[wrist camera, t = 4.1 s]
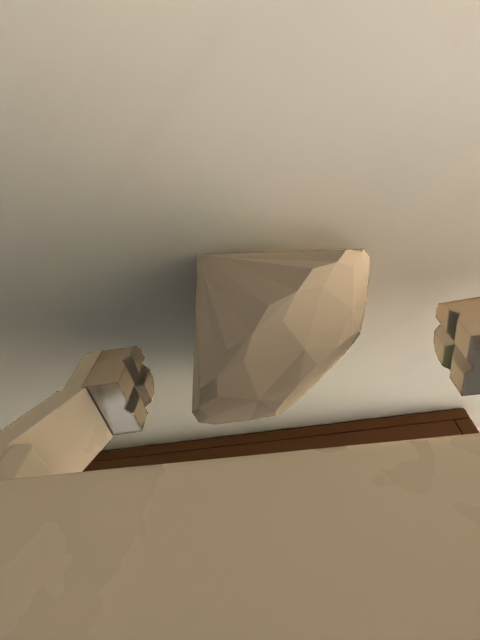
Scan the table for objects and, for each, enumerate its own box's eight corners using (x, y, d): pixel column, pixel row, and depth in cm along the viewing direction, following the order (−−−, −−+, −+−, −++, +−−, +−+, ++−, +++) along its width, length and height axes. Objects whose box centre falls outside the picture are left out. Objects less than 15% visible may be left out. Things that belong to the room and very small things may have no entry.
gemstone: (128, 156, 7) (317, 336, 6) (300, 158, 12) (436, 259, 10) (90, 353, 11) (194, 493, 10) (229, 300, 15) (318, 389, 14)
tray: (142, 607, 26) (132, 654, 24) (19, 460, 17) (-13, 514, 15) (434, 590, 23) (452, 640, 21) (464, 407, 15) (499, 463, 12)
